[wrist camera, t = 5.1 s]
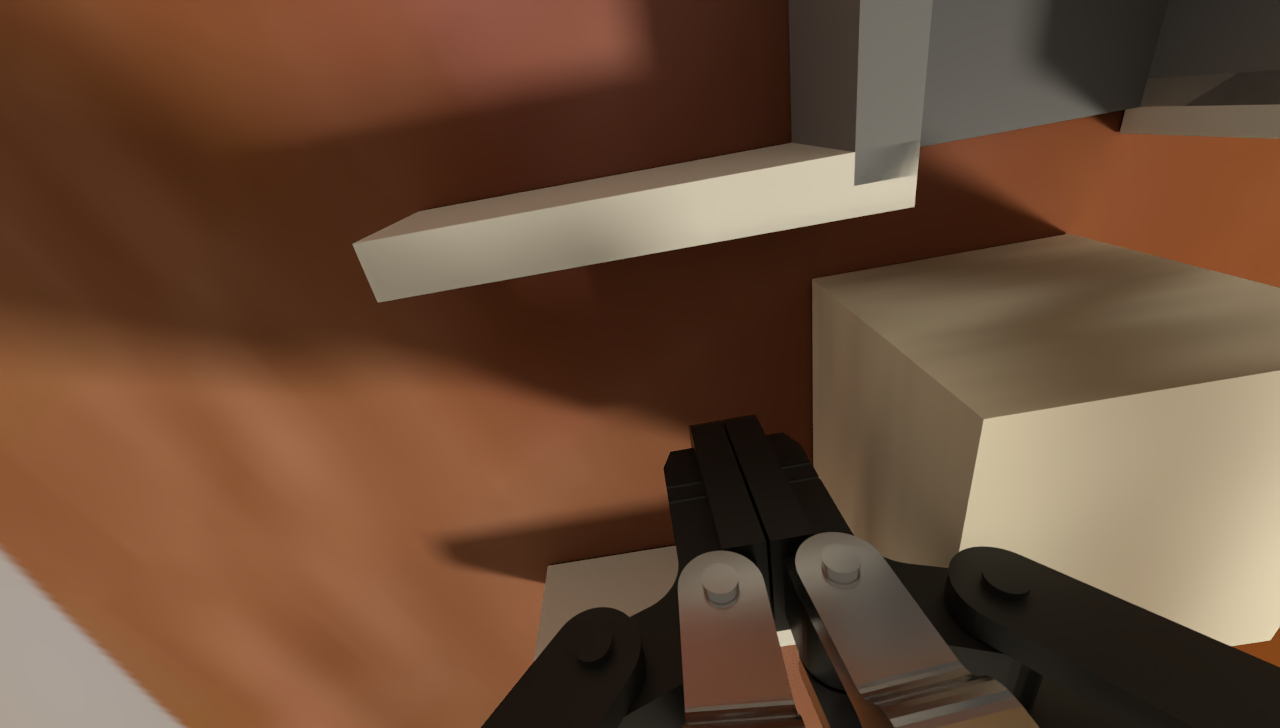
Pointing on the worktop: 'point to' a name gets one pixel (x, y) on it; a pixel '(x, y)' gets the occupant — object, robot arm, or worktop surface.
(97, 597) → the worktop surface
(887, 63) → the trap box
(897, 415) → the birch block
